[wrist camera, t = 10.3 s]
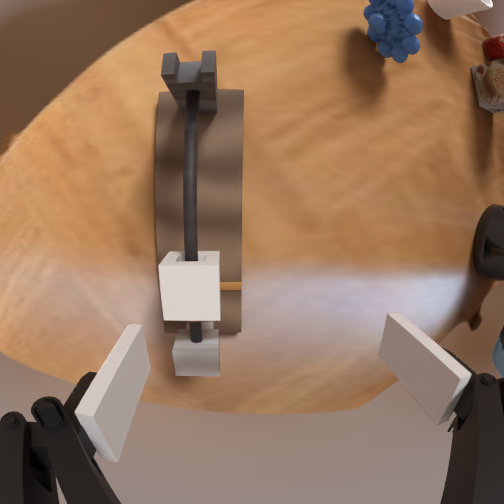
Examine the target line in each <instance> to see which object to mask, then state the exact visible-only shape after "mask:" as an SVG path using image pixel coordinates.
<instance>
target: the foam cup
mask: <svg viewBox="0 0 504 504" xmlns="http://www.w3.org/2000/svg"><path fill="white" fill-rule="evenodd" d="M427 2H428V4H429V6H430V7H431V8H432V10H433V11H434V12H435V13H436V14H437V15H439V16H440V17H441V18H443V19H445V20H449V19H452V18H456V17H459V16H462V15H466V14H469V13H473V12H477V11H480V10H487V9H489V8H492V6H493V4H492V1H491V0H427Z"/></svg>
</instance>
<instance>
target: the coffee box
mask: <svg viewBox="0 0 504 504" xmlns="http://www.w3.org/2000/svg"><path fill="white" fill-rule="evenodd" d="M471 70H472V74H473V78H474V82H475V87H476V92H477V97H478V102H479V106H480V107H482V108H484V109H486V110H488V111H490V112H492V113H498V112H504V58H503V59H499V60H495V61H491V62H488V63H484V64H481V65H477V66H474V67H471Z"/></svg>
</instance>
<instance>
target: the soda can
mask: <svg viewBox="0 0 504 504" xmlns="http://www.w3.org/2000/svg"><path fill="white" fill-rule="evenodd" d="M483 47H484V50H485V53H486V55H487V56H488V58H489V60H490V61H495V60H499V59H503V58H504V34H501V35H498V36H495V37H492V38H489V39H486V40H484V42H483Z"/></svg>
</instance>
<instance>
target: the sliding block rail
mask: <svg viewBox="0 0 504 504" xmlns="http://www.w3.org/2000/svg"><path fill="white" fill-rule="evenodd" d="M161 76H162V78H163V80H164V81H165V83H166V85H167V87H168V89H169V90H170V91H169V92H159V98H158V111H157V127H156V151H155V214H156V239H157V256H158V265H159V264H160V263H161V261H162V260H163V259H164V258H165V256H166V255H167V254H168V252H169V251H184V252H185V261H198V251H220V321H174V320H164V326H165V332H170V333H177V335H176V339H175V342H174V346H173V350H172V354H173V361H174V367H175V373H176V376H220V349H219V333H235V332H241V252H242V161H243V107H244V90H226V89H217V68H216V51H203V52H202V61H201V62H182V63H180V62H179V59H178V56H177V53H165V54H164V55H163V62H162V71H161ZM158 270H159V267H158ZM159 281H160V279H159ZM159 284H160V283H159ZM160 292H161V290H160ZM161 301H162V300H161ZM162 310H163V309H162ZM163 319H164V317H163Z"/></svg>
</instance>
